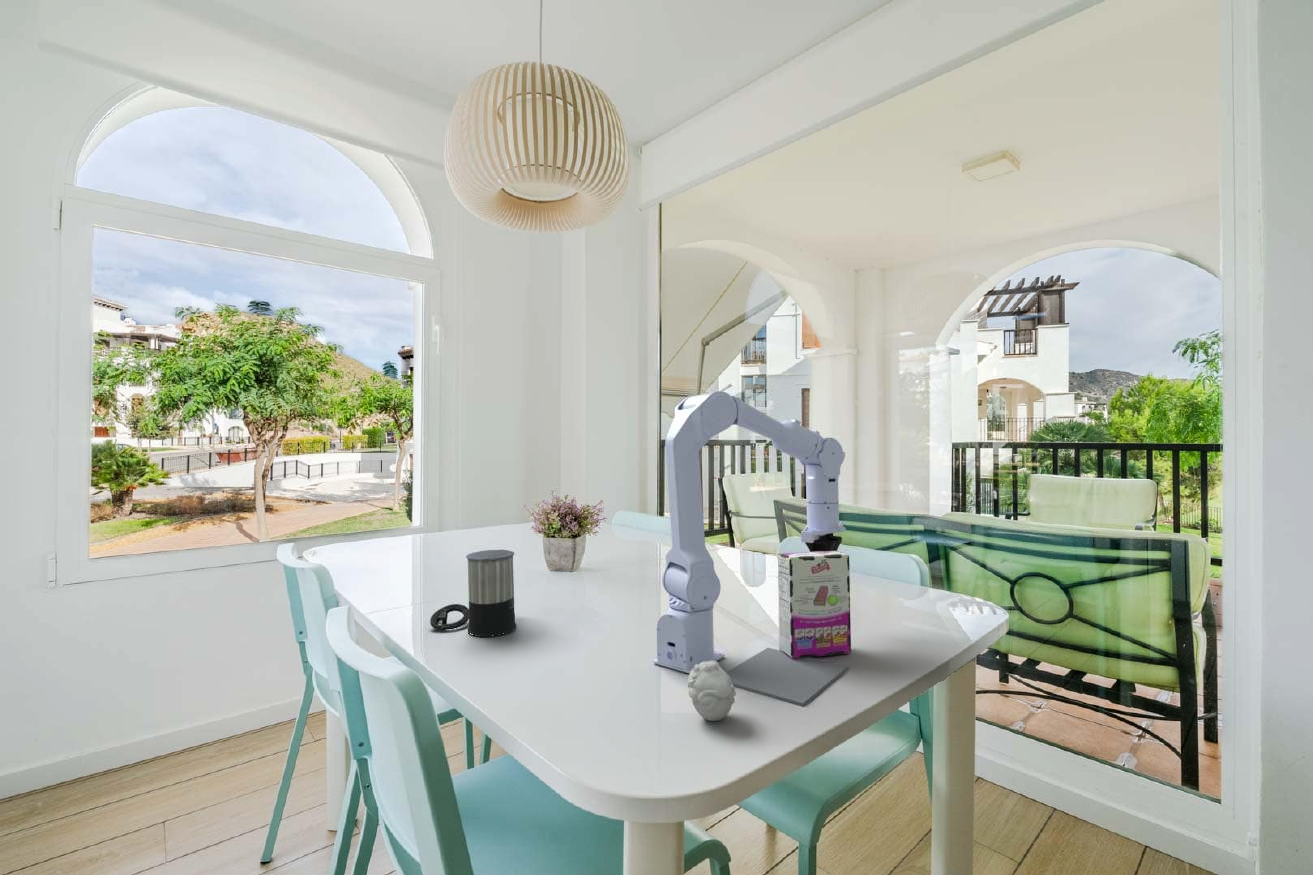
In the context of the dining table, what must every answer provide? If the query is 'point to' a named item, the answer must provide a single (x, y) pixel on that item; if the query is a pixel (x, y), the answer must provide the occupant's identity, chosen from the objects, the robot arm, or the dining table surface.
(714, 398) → the robot arm
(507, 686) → the dining table surface
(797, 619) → the candy bar box
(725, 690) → the white carved ornament
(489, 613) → the milk frother
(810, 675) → the rubber mat
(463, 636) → the dining table surface
